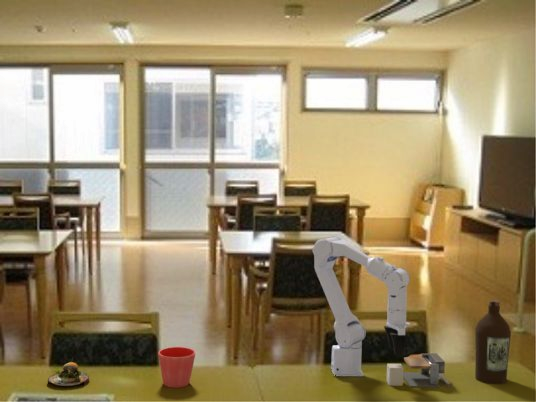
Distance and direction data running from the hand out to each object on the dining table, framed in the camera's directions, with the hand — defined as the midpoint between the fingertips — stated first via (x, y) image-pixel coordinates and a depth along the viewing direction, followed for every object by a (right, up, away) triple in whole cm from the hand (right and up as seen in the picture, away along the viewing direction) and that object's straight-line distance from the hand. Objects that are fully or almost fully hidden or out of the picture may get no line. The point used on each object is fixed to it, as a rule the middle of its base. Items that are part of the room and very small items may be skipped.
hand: (396, 352), depth 213 cm
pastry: (+12, -9, +20) cm, 25 cm away
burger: (-99, -8, -5) cm, 99 cm away
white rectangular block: (0, -7, 0) cm, 7 cm away
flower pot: (-67, -9, -4) cm, 67 cm away
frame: (+13, -10, +4) cm, 16 cm away
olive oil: (+31, -10, +6) cm, 33 cm away
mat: (+8, -9, +4) cm, 13 cm away
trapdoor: (+9, -6, +4) cm, 11 cm away
